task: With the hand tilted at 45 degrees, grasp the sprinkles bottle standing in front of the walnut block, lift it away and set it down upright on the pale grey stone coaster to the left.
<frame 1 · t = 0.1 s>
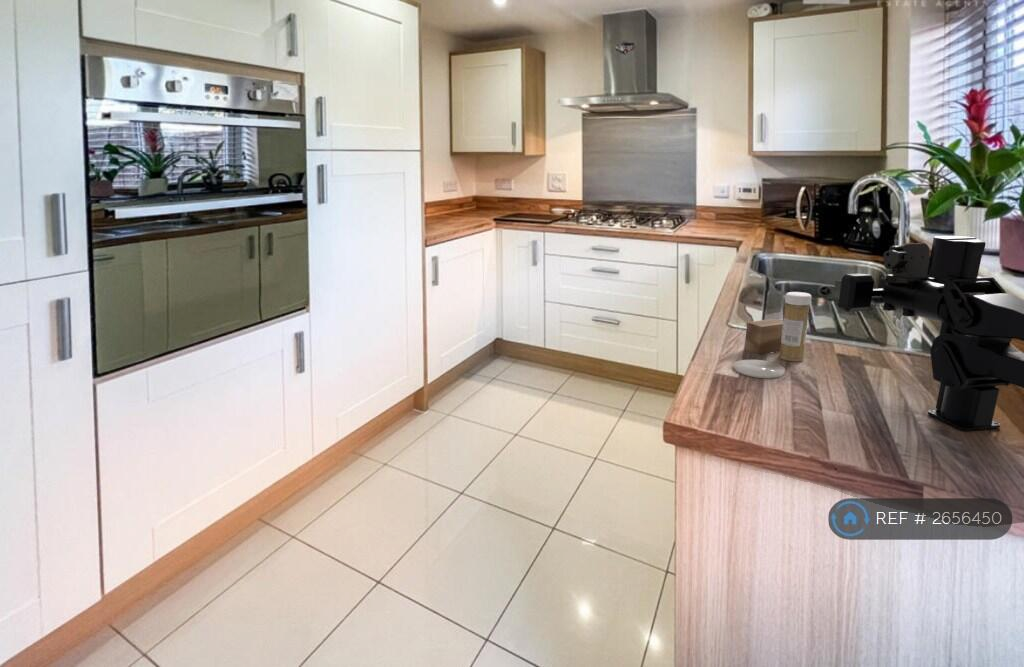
hand: (857, 282, 108), 17 cm above the countertop, tool horizontal, fingers open, 9 cm apart
sprinkles bottle: (790, 359, 118), on the countertop
stone coaster: (758, 370, 111), on the countertop
walnut block: (766, 349, 124), on the countertop
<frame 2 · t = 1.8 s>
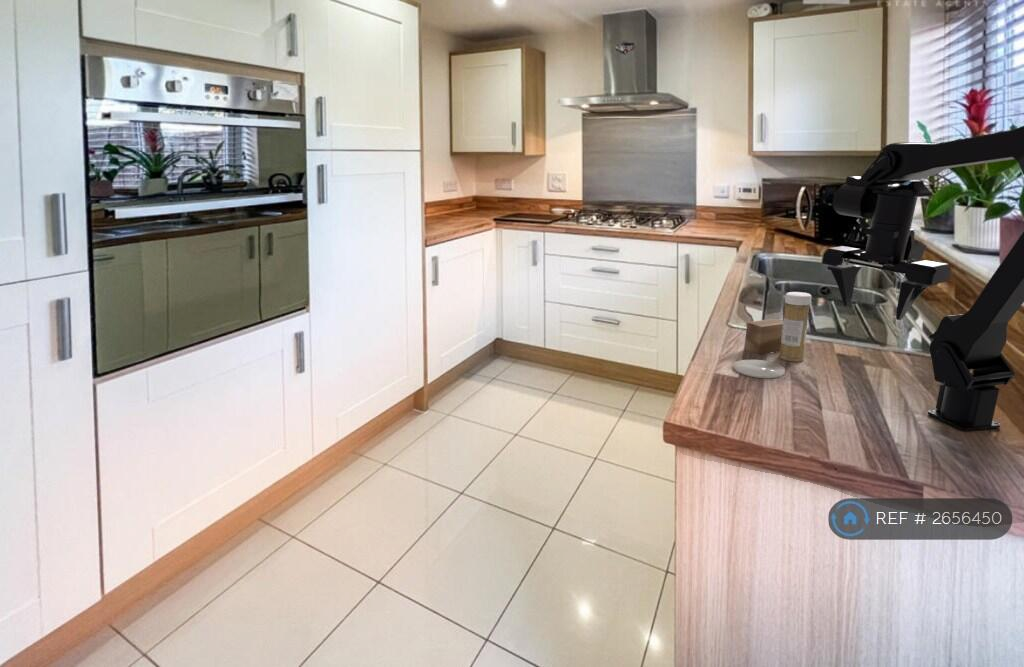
hand: (872, 312, 102), 13 cm above the countertop, tool pointing down, fingers open, 9 cm apart
nothing on the countertop moved.
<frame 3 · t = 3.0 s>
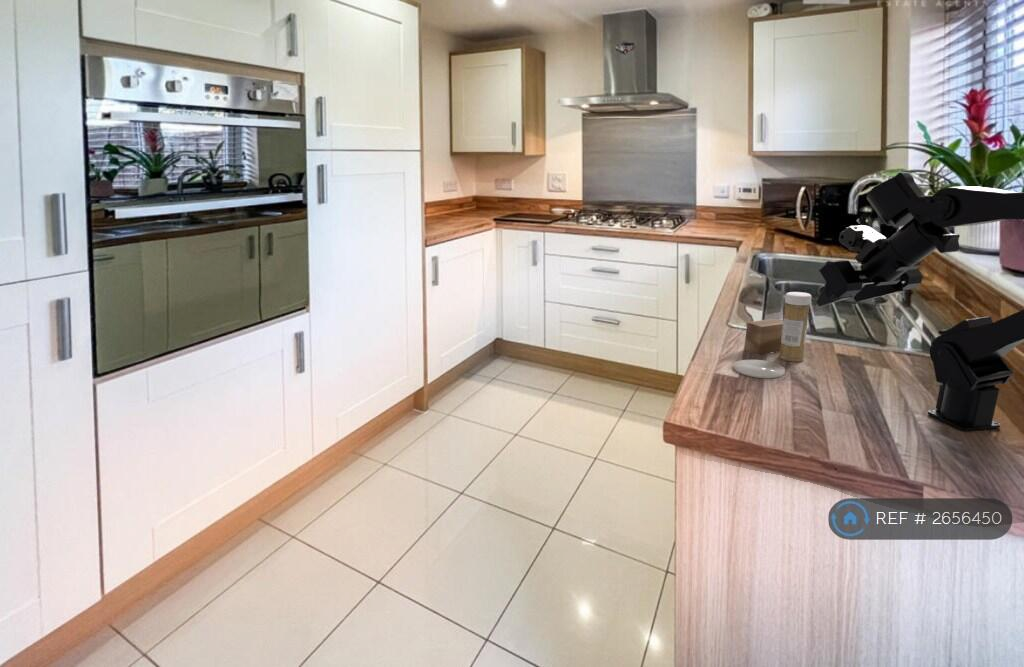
hand: (836, 302, 106), 13 cm above the countertop, tool tilted 45°, fingers open, 9 cm apart
nothing on the countertop moved.
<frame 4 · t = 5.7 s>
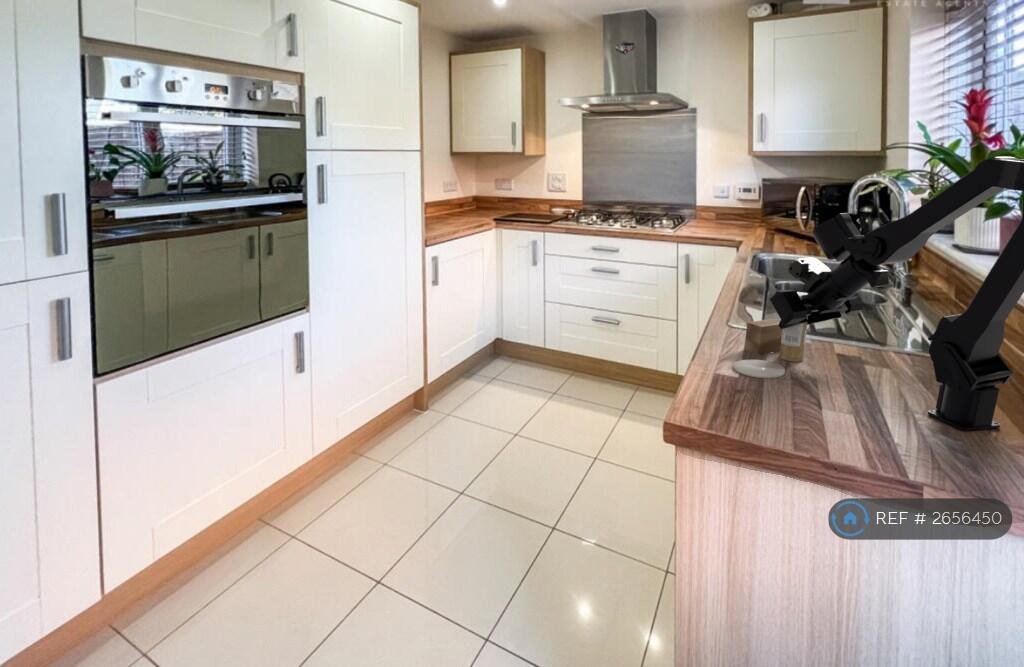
hand: (789, 325, 117), 7 cm above the countertop, tool tilted 45°, fingers closed on sprinkles bottle, 4 cm apart
sprinkles bottle: (790, 359, 118), on the countertop, touching gripper
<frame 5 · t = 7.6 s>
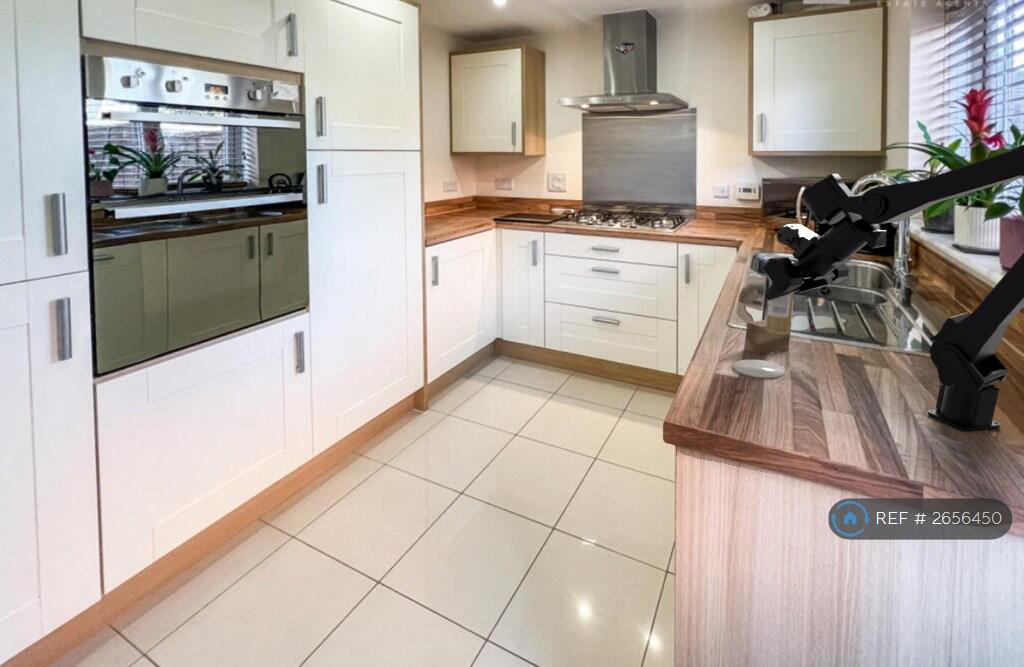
hand: (774, 296, 112), 13 cm above the countertop, tool tilted 45°, fingers closed on sprinkles bottle, 4 cm apart
sprinkles bottle: (777, 332, 113), point 6 cm above the countertop, touching gripper
when the fingers open (8 cm above the countertop, at t = 9.3 s): sprinkles bottle stays where it is, resting on stone coaster.
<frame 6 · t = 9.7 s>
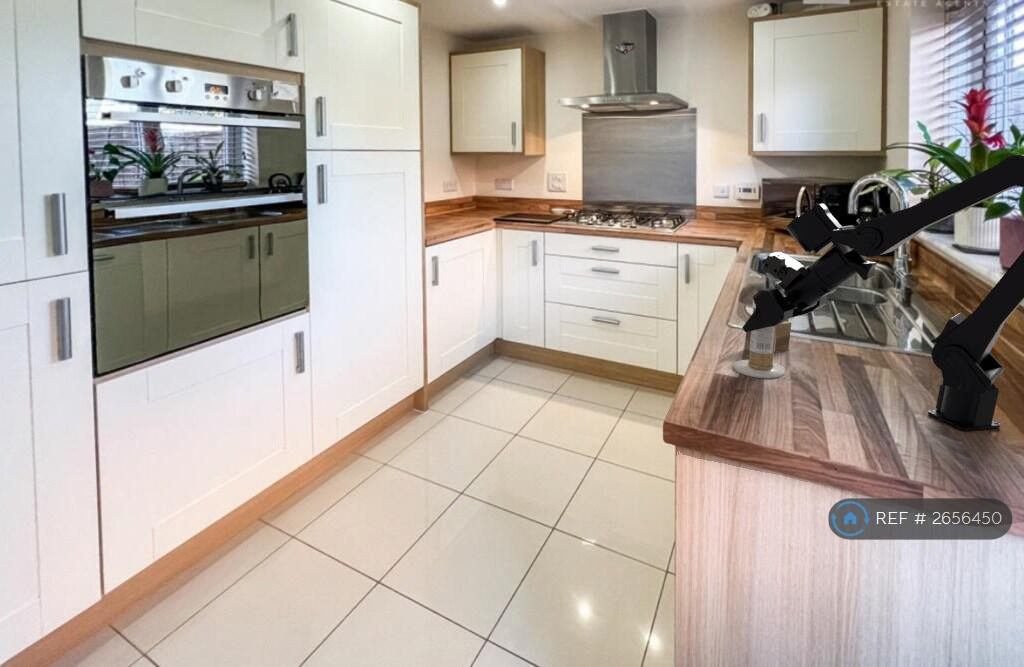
hand: (756, 325, 110), 9 cm above the countertop, tool tilted 45°, fingers open, 9 cm apart
sprinkles bottle: (759, 368, 111), resting on stone coaster
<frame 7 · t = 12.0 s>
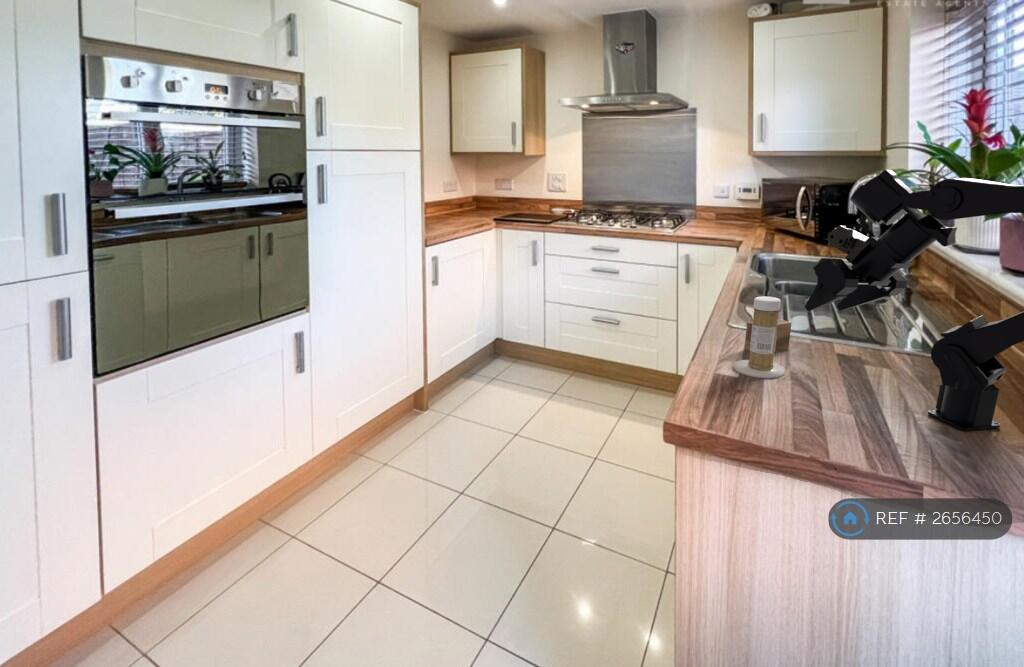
hand: (822, 308, 102), 13 cm above the countertop, tool tilted 40°, fingers open, 9 cm apart
nothing on the countertop moved.
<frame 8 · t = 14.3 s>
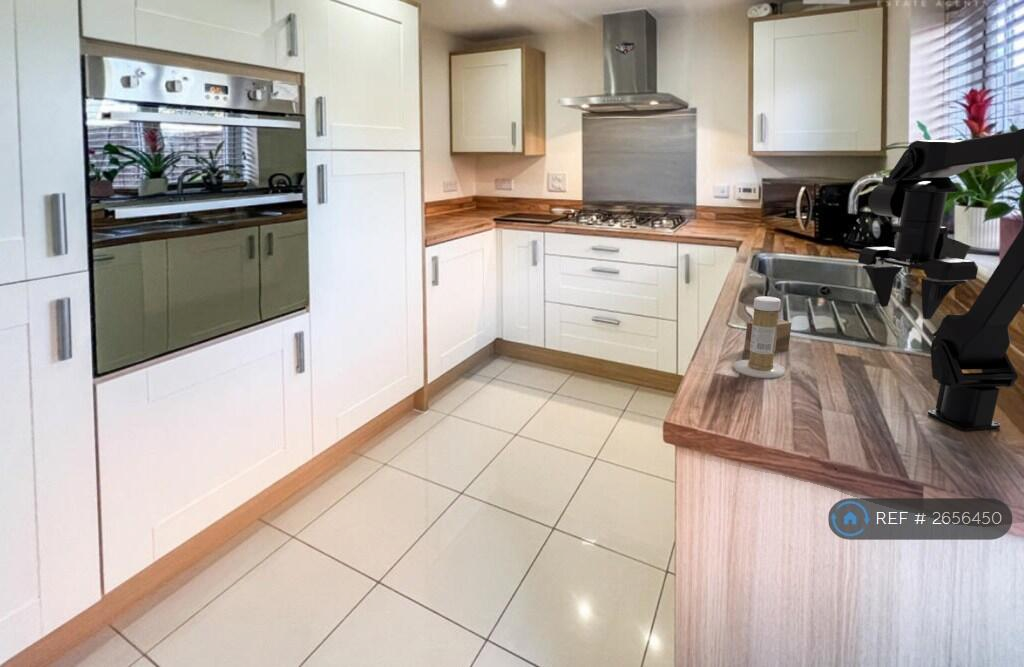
hand: (904, 312, 100), 13 cm above the countertop, tool pointing down, fingers open, 9 cm apart
nothing on the countertop moved.
at the end: sprinkles bottle 0.2 cm from the stone coaster (horizontally); sprinkles bottle tilted 0°; the gripper is holding nothing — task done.
